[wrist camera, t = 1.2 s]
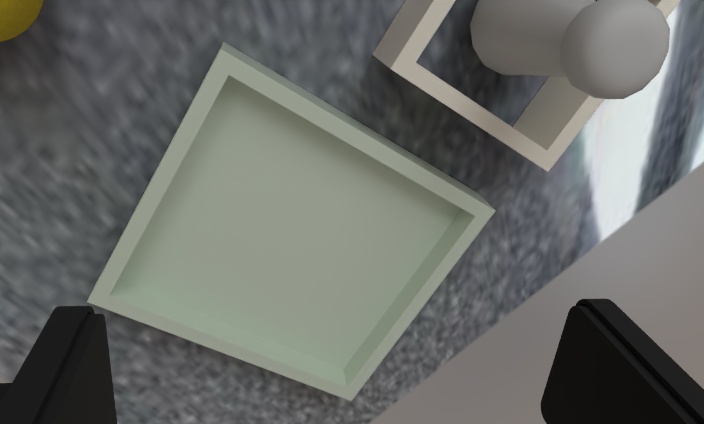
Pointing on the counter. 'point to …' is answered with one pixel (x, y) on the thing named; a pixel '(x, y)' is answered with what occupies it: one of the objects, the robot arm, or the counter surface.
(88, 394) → the robot arm
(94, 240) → the counter surface
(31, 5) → the lemon
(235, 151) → the tray
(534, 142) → the square frame
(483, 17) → the salt shaker
